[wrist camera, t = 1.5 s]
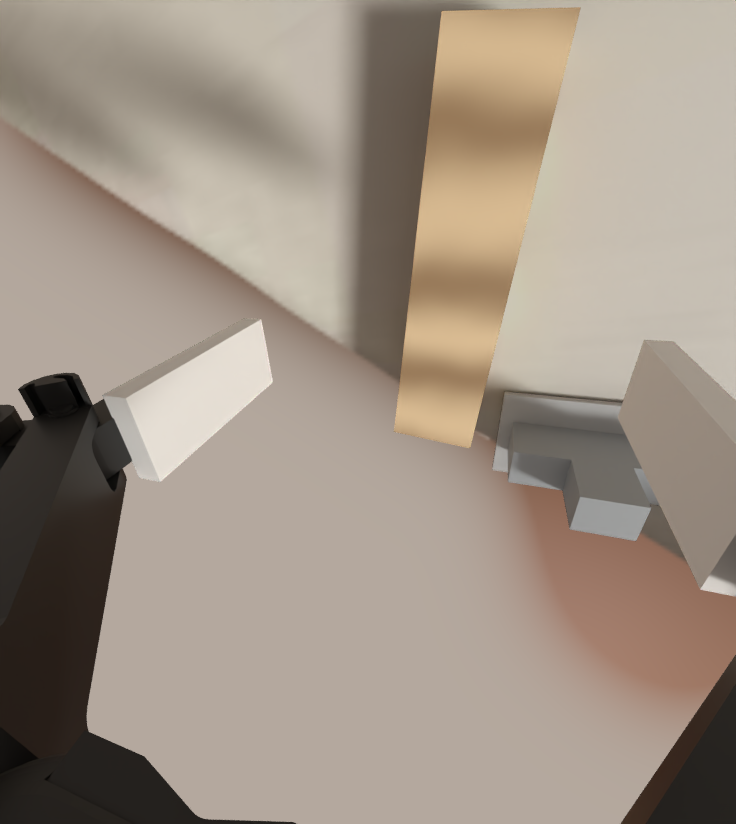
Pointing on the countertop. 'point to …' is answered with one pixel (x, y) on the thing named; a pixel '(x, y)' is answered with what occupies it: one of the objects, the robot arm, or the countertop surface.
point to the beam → (475, 204)
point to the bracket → (576, 460)
